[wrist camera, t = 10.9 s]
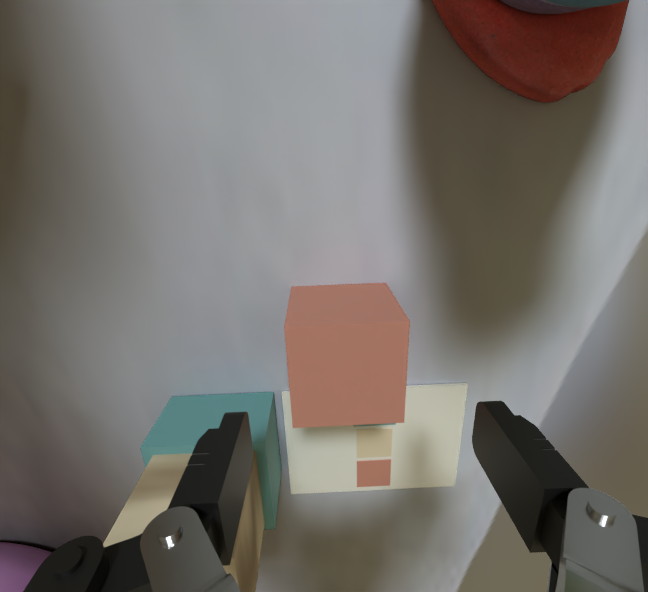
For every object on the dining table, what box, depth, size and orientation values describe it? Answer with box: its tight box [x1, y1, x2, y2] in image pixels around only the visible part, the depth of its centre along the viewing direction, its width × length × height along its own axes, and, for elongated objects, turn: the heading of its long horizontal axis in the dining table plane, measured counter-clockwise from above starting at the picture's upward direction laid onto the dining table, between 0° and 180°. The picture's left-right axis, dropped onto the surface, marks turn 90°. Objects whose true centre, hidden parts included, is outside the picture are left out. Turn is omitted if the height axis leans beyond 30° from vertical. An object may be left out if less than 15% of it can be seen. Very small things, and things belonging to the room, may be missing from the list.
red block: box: [284, 283, 410, 428], centre depth 17 cm, size 5×5×5 cm
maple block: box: [103, 451, 265, 592], centre depth 15 cm, size 5×5×5 cm
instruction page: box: [282, 383, 468, 494], centre depth 22 cm, size 8×11×1 cm
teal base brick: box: [140, 392, 282, 530], centre depth 20 cm, size 6×6×4 cm
